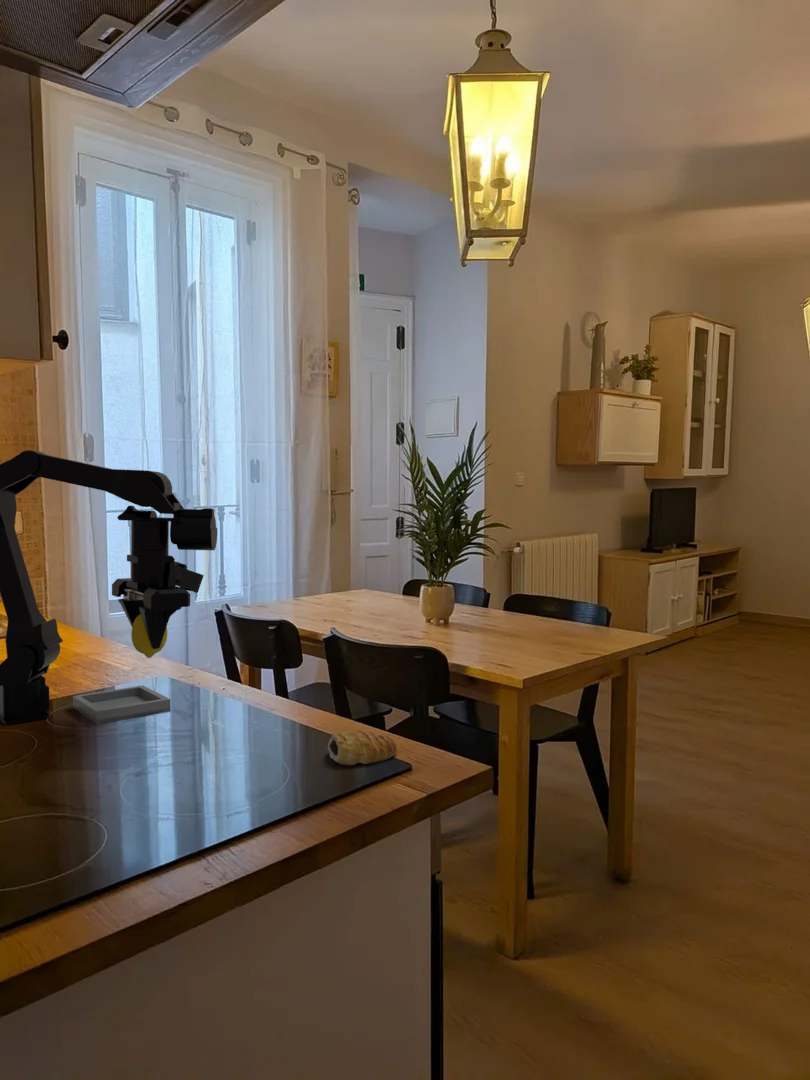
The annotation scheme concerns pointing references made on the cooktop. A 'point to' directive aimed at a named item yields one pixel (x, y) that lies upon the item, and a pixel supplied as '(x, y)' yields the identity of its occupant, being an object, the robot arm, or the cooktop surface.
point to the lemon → (144, 638)
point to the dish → (121, 704)
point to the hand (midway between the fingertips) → (149, 645)
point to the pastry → (360, 747)
